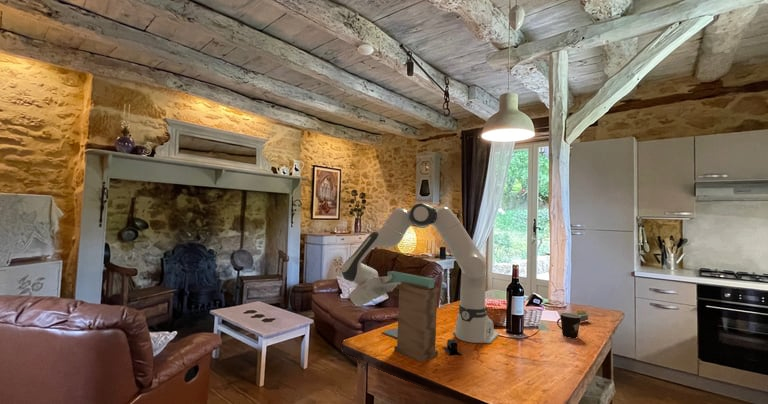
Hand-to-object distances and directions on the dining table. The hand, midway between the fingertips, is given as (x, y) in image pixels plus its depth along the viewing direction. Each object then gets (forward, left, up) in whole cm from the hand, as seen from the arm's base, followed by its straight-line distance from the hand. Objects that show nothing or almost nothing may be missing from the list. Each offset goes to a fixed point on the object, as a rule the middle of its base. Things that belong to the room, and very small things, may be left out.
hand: (396, 275), depth 148 cm
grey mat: (-11, -2, -29) cm, 31 cm away
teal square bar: (0, +7, -2) cm, 8 cm away
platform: (-105, +45, -30) cm, 118 cm away
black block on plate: (-14, +20, -30) cm, 38 cm away
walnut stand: (0, +12, -29) cm, 31 cm away
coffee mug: (-73, +46, -29) cm, 91 cm away
